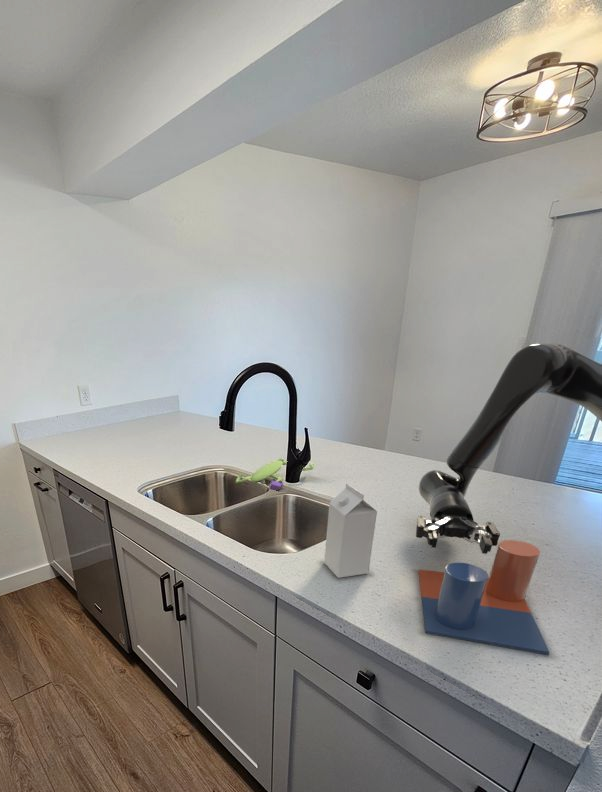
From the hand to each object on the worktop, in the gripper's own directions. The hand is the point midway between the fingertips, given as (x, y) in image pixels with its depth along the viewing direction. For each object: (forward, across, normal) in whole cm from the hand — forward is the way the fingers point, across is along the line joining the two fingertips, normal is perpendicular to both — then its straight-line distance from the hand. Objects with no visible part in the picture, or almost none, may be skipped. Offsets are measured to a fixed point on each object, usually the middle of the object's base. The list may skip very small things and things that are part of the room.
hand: (460, 546), depth 82 cm
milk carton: (-5, -20, +11) cm, 23 cm away
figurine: (-61, -48, +11) cm, 78 cm away
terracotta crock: (-3, +10, +10) cm, 15 cm away
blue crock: (+9, 0, +10) cm, 14 cm away
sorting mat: (+3, +4, +11) cm, 12 cm away
